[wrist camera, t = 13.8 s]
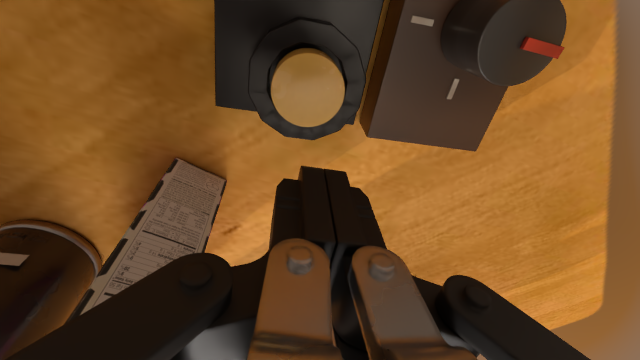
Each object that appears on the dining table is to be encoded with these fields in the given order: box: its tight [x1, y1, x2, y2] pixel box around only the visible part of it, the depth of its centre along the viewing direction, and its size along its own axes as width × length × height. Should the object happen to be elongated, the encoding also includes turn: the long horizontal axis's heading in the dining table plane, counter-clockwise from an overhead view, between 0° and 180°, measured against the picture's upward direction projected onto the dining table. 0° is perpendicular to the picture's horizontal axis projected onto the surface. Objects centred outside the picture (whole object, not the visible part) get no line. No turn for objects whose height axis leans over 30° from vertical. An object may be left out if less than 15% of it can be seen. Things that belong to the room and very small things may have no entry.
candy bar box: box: [65, 158, 227, 324], centre depth 21 cm, size 11×5×16 cm, turn 148°
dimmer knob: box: [441, 0, 566, 86], centre depth 17 cm, size 4×4×5 cm
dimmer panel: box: [360, 0, 508, 151], centre depth 21 cm, size 12×9×3 cm
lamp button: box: [271, 48, 345, 127], centre depth 18 cm, size 4×4×2 cm
